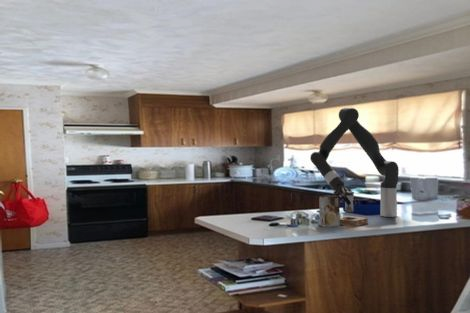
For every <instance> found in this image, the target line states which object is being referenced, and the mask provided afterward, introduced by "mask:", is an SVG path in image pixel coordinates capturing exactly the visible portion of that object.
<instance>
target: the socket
mask: <svg viewBox="0 0 470 313" xmlns="http://www.w3.org/2000/svg"><path fill="white" fill-rule="evenodd" d="M342 216H343V218H341V219H340V226H345V227H353V228H354V227H359V226H363V225H368V224H369V218H368V217H362V216H361V217H360V216H352V215H342Z"/></svg>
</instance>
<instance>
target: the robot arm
mask: <svg viewBox="0 0 470 313" xmlns="http://www.w3.org/2000/svg"><path fill="white" fill-rule="evenodd" d="M359 113H360V112H359V110H357V109H356V108H355V107H344V108H341V109H340V110H339V112H338V119H339V121H340V122H339V123H338V124H337V126H336V127H335V128H334V129H333V130H331V132H330V133H328V135H326V137H324V139H323V141H322V142H321V143H320V146H319V151H314V152H312V153H311V155H310V162H311V163H312V164H313V165H314V167H315V168H316V169H317V170H318V171H319V172H320V174H321V176H322V177H323V178H324V179H325V182H326V183H327V184H328V185H329V187H330V188H331V189H332V191H333V193H334V194H333V195H335V196H339V200H341V201H344V203H345V202H346V203H347V204H348V205H350V204H351V202H350V200H349V199H348V198H347V196H346V194H345V192H353V191H352V189H351V188H350V187H348V188H347V187H346V186H345V181H344V180H343V179H342V178H341V176H340V175H339V174H338V172H336V171H335V170H334V168H333V167H332V166H331V165H330V163H328V162H327V160H328V158H329V156H330V153H331V152H332V150H333V149H334V147H335V146H337V143H338V142H339V141H340V140H341V138H342V137H343V136H344V135H345V133H347V132H348V131H349V132H350V133H351V134H352V136H353V137H354V139H355V140H356V141H357V143H358V144H359V146H360V147H361V148H362V150H363V151H364V152H365V154H366V155H367V156H368V157H369V159H370V160H371V161H372V163H373V165H374V168H376V170H377V172H378V173H379V174H380V175H381V176H383V177H384V181H382V182H380V209H379V210H380V216H381V217H385V218H387V217H388V218H391V217H392V218H394V217H397V216H398V200H397V191H398V190H397V185H398V183H399V166H398V163H396V161H392V160H386V159H385V157H384V156H383V155H382V153H381V152H380V145H379V142H378V141H377V140H376V138H375V137H374V135H373V134H372V133H371V132H370V131H369V130H368V129H366V128H365V127H364V126H363V125H362V124H361V123H360V122H359V121H358V119H359V115H360V114H359ZM354 196H355V193H354V194H353V206H354V205H356V203H357V200H356V199H354Z"/></svg>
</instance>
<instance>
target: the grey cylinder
mask: <svg viewBox="0 0 470 313" xmlns="http://www.w3.org/2000/svg"><path fill="white" fill-rule="evenodd" d="M345 194H346V196H347V198H348V199H349V200H350V202H351V204H350V205H348V204H347V203H346V202H345V201H344V203H345V206H344V207H345V209H344V210H345V211H344V212H345V213H354V205H353V198H354V196H353V194H354V195H355V192H354V191H352V192H345Z"/></svg>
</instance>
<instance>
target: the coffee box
mask: <svg viewBox="0 0 470 313" xmlns="http://www.w3.org/2000/svg"><path fill="white" fill-rule="evenodd" d="M339 196H340V195H339ZM339 196H337V195H335V194H331V195H329V194H328V195H319V196H318V201H319V202H318V204H319V205H318V206H319V207H318V208H319V210H318V211H319V214H318V216H319V222H318V224H319V226H321V227H324V228H328V227H329V228H330V227H340V226H341V225H340V217H341V214H340V212H341V210H340V198H339Z"/></svg>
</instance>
